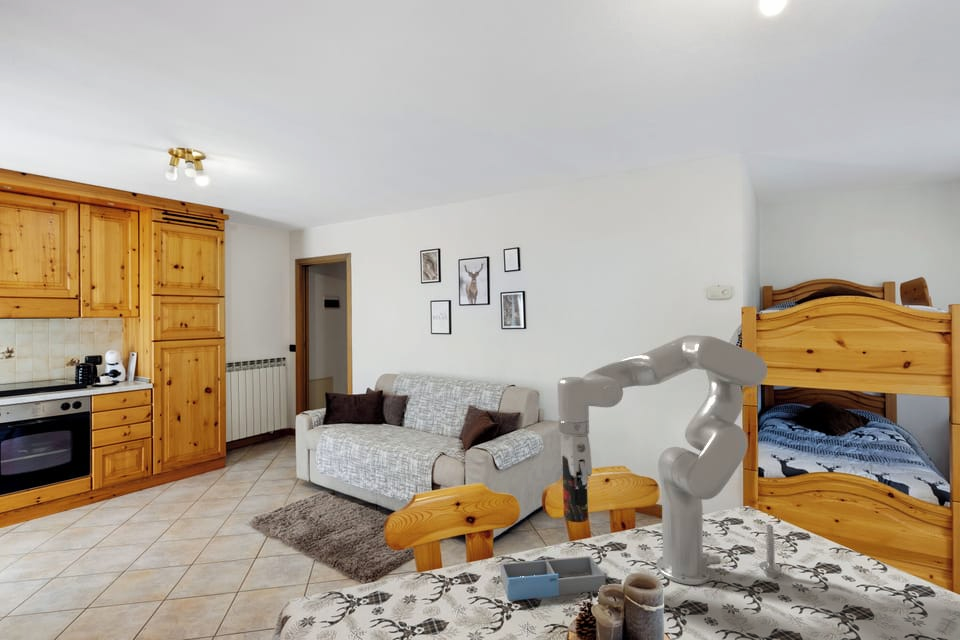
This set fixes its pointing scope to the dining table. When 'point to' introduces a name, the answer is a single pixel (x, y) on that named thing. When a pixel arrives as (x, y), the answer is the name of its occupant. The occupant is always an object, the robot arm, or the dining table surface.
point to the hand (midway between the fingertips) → (575, 498)
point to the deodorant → (572, 497)
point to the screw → (770, 556)
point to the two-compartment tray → (549, 577)
